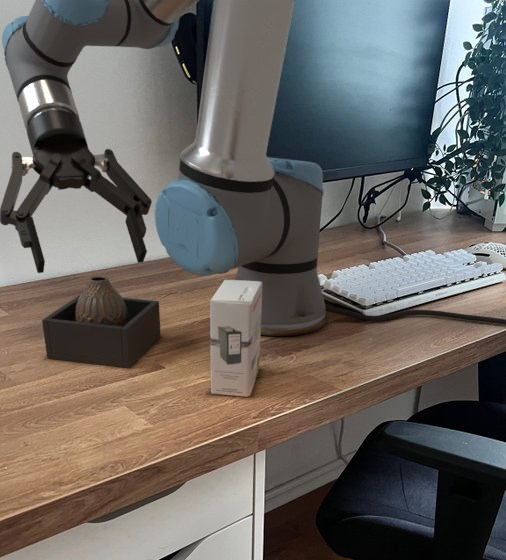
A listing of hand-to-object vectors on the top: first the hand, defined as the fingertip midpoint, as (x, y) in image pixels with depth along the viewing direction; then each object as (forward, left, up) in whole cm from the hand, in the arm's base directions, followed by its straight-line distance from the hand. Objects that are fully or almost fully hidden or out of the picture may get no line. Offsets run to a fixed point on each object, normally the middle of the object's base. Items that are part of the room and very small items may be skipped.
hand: (93, 262), depth 91 cm
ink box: (-22, +8, -11) cm, 26 cm away
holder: (-2, +2, -11) cm, 11 cm away
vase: (-2, +2, -10) cm, 11 cm away
